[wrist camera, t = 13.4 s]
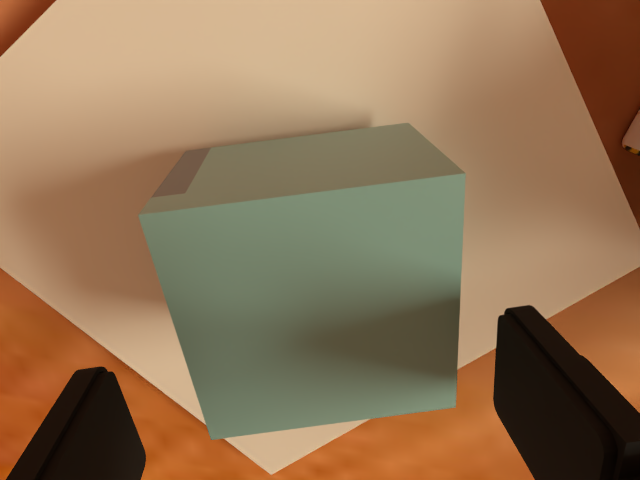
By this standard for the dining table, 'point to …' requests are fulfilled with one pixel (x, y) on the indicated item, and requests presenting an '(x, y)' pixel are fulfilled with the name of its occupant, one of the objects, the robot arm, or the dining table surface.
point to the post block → (292, 121)
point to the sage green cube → (313, 277)
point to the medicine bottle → (633, 136)
